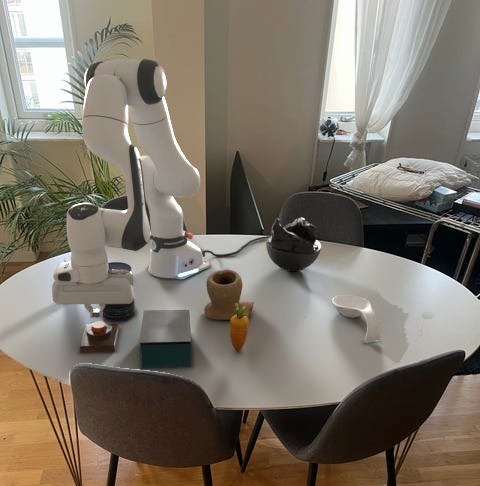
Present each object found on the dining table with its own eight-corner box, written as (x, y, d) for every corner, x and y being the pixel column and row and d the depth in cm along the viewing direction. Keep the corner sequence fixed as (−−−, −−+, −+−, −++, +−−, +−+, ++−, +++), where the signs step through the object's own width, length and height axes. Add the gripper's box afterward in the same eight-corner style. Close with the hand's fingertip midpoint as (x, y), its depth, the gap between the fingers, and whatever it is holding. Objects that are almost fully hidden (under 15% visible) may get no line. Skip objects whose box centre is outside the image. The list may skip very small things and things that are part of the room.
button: (105, 333, 126) (104, 328, 125) (91, 333, 126) (90, 328, 125) (106, 326, 129) (106, 320, 128) (93, 326, 129) (92, 321, 128)
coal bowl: (326, 266, 178) (333, 219, 169) (303, 285, 164) (309, 235, 154) (280, 253, 187) (284, 207, 177) (254, 270, 172) (257, 221, 163)
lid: (191, 343, 117) (191, 341, 116) (139, 345, 115) (139, 342, 115) (189, 312, 130) (189, 309, 129) (143, 312, 128) (143, 310, 128)
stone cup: (202, 325, 139) (202, 280, 131) (205, 305, 149) (206, 262, 141) (253, 328, 139) (256, 283, 131) (253, 308, 149) (256, 265, 141)
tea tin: (191, 366, 122) (190, 342, 117) (141, 368, 120) (139, 343, 116) (189, 335, 134) (189, 312, 130) (145, 336, 132) (143, 313, 128)
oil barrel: (141, 309, 145) (138, 265, 137) (124, 325, 137) (120, 279, 129) (113, 303, 147) (108, 259, 139) (95, 318, 139) (89, 272, 131)
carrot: (228, 347, 130) (230, 300, 122) (245, 347, 130) (249, 300, 122) (229, 357, 126) (231, 309, 118) (247, 357, 126) (251, 309, 118)
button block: (115, 352, 125) (113, 339, 123) (80, 353, 124) (78, 340, 122) (119, 329, 135) (118, 317, 133) (86, 330, 134) (85, 318, 131)
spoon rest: (325, 304, 153) (328, 285, 150) (358, 302, 156) (362, 283, 152) (354, 345, 134) (359, 324, 130) (392, 342, 136) (397, 321, 132)
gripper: (133, 264, 122) (137, 310, 129) (52, 264, 119) (60, 311, 127) (131, 275, 117) (135, 322, 124) (46, 275, 114) (55, 323, 121)
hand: (96, 316), depth 125 cm, fingers closed
